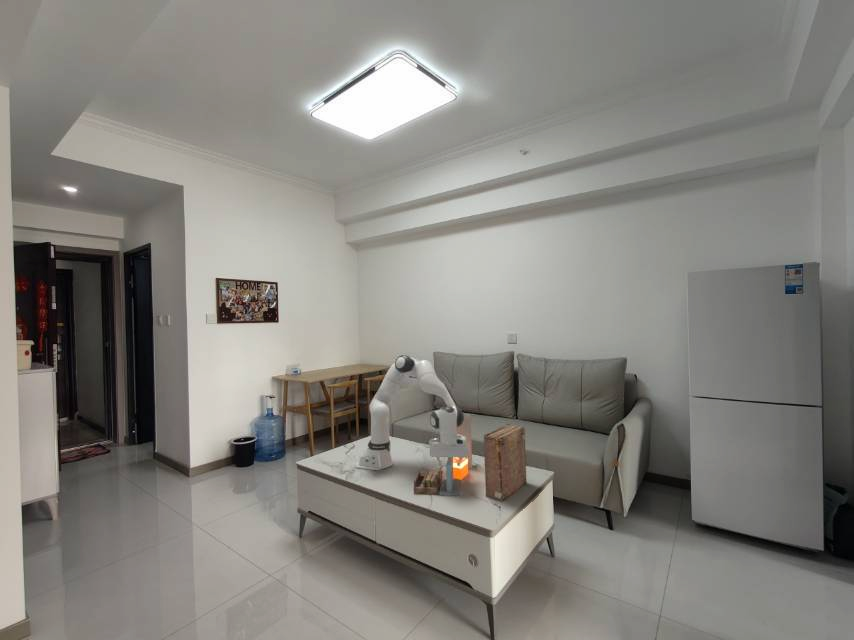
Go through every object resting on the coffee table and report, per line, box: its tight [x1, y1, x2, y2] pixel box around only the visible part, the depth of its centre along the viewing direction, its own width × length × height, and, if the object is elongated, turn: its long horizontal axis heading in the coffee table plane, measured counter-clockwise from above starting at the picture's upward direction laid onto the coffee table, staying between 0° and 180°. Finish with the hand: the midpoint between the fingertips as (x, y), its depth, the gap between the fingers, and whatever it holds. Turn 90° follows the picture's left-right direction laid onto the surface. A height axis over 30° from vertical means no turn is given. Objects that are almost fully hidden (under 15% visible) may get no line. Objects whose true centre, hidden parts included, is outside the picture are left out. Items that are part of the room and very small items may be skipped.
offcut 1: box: [426, 471, 434, 487], centre depth 204 cm, size 2×10×6 cm, turn 171°
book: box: [483, 423, 527, 502], centre depth 198 cm, size 25×9×30 cm, turn 139°
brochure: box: [456, 413, 473, 469], centre depth 230 cm, size 14×6×30 cm, turn 84°
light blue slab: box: [445, 457, 455, 492], centre depth 203 cm, size 2×12×13 cm, turn 171°
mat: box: [438, 478, 462, 497], centre depth 202 cm, size 10×18×1 cm, turn 171°
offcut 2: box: [431, 473, 438, 488], centre depth 204 cm, size 2×9×6 cm, turn 171°
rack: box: [413, 469, 442, 495], centre depth 204 cm, size 12×16×6 cm
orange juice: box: [453, 457, 469, 480], centre depth 218 cm, size 8×9×20 cm
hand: (449, 465), depth 202 cm, fingers open, 8 cm apart
